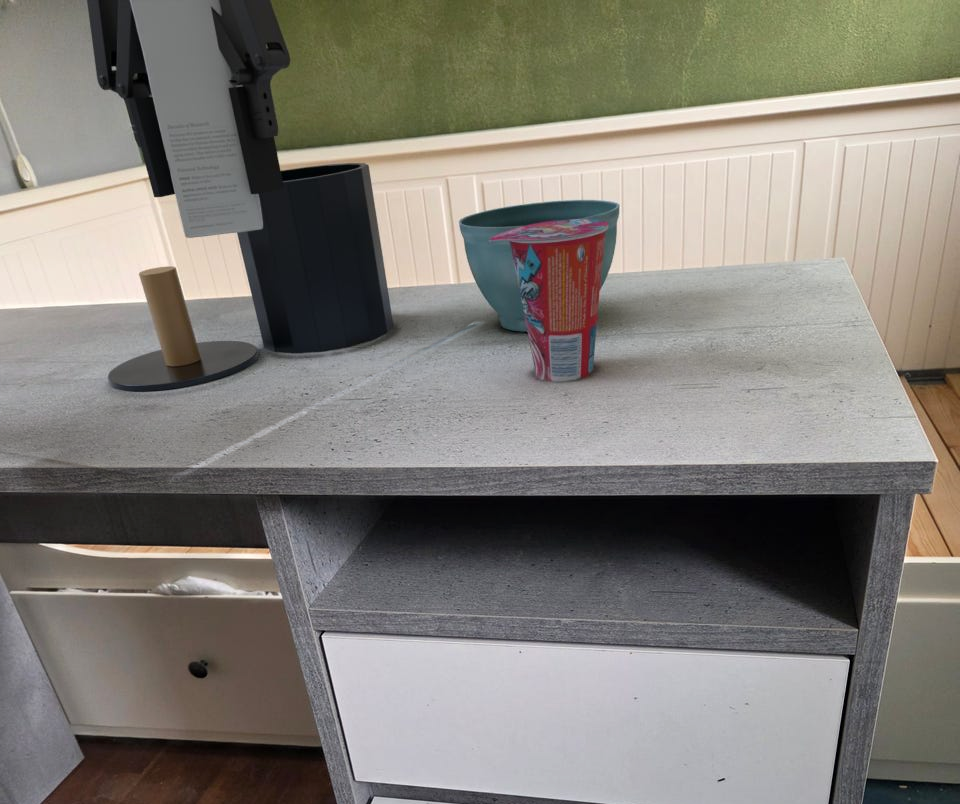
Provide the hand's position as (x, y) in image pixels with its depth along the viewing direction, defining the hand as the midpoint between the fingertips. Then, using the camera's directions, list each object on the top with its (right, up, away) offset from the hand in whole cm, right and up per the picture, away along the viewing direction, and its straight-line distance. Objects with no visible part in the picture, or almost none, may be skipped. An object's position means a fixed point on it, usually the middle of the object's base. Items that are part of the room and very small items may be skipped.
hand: (217, 192), depth 66 cm
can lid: (-11, -5, +26) cm, 28 cm away
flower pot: (+27, 0, +28) cm, 39 cm away
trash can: (+3, 0, +32) cm, 32 cm away
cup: (+27, -10, +12) cm, 31 cm away
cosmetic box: (0, -2, +1) cm, 3 cm away
